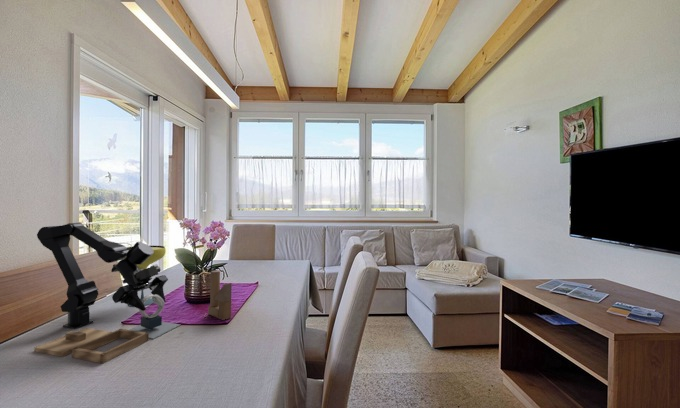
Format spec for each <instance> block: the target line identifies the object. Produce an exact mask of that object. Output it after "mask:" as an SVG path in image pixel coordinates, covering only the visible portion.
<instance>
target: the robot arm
mask: <svg viewBox="0 0 680 408" xmlns="http://www.w3.org/2000/svg"><path fill="white" fill-rule="evenodd" d="M71 236H72V237H74V238H76V239H77V240H79V241H80V242H82V243H84V244H85V245H87V246H88V247H90V248H92V249H93V250H94V251H95V252H96V254H97V256H98V257H99V258H100V259H101V260H102V261H103V262H105V263H108V264H109V263H115V262H117V263H115V264H112V268H111V270H110V271H111V273H115V272H118V273H119V274H120V276H121V277H122V278H123V280H122V283H123V285H121V286H119V287H118V289H116V291H115V292H114V293H113V294H112V296H111V298H112V300H113V303H115V304H117V303H118V304H119V303H120V304H126V305H131V306H133V308H136V309H138V310H139V309H140V310H142V311H144V310H145V311H146V309H147V308H146V306H144V304H143V303H142V301H141V300H140V298H141V297H139V295H138V294H139V293H138V292H141V290H143V291H144V290H147V289H149V290H150V291H151V292H150V294H152V295H155V294H157V295H159V296H160V297H161V298H162V299H163V300H164V302H165V303H166V298H165V293H164V285H165V284H166V283H167V281H169V278H168V277H167V275H165V274H163V275H160V276H158V275H159V273H160V272H161V267H160V266H159V265H158V264H157V263H156V264H153V265H149V266H150V267H147V268H146V269H139V267H138V266H137V264H143V263H144V262H145V261H146V260H147V259H148V258H149V257H150V256H151V255H152V254H153V253H154V251H153V249H152V247H150V246H151V245H148V244H146V243H143V241H142V240H141V241H136V243H134V245H133V246H131V247H132V248H131V249H128V248H127V247H126V246H125V245H123V244H120V243H118V242H115V241H110V240H108V239H106V238H104V237H102V236H101V235H99V234H97V233H96V232H95V231H93V230H91V229H89V228H88V227H86V226H85V225H84V224H83V223H82V222H71V223H69V222H68V223H66V224H63V225H51V226H49V225H48V226H42V227H41V228H40V229H39V230H38V232H37V234H36V238H37V239H38V241H39V243H40V244H41V245H42V246H43V247H44V248H46V249H48V250H49V251H51V253H52V254H53V257H54V259H55V261H56V263H57V265H58V268H59V269H60V271H61V273H62V275H63V277H64V280H65V281H66V284H67V289H66V290H67V291H66V296H67V297H66V298H67V300H65V301H64V302H63V303H62V304H61V305H60V308H61V313H62V312H63V313H67V323H66V324H65V323H64V324H63V325H62V327H64V328H69V329H78V328H80V327H83V326H87V325H89V324H91V323H94V320H91V319H90V318H91V316H90V306H93V305H95V302H96V300H97V298H98V296H99V288H98V287H97V286H96V281H94V280H90V281H89V280H88V279H86V278H85V276H84V274H83V272H82V270H81V267H80V266H79V264H78V262H77V259H76V258H75V256H74V254H73V252H72V249H71V248H70V242H71ZM154 276H155V278H153V277H154ZM152 279H153V280H152ZM125 284H126V285H125ZM131 306H130V307H131Z"/></svg>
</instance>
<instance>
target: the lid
mask: <svg viewBox="0 0 680 408" xmlns="http://www.w3.org/2000/svg"><path fill="white" fill-rule="evenodd" d="M112 332H113V331H109V330H103V329H97V328H90V327H85V328H82V329H80V330H77V331H76V330H71V331H68V332H66V333H65V335H63V336H61V337H58V338H56V339H53V340H51V341H47V342H45V343H42V344H39V345H37V346H35V347H33V348H34V352H37V353H41V354H47V355H53V356H56V357H62V358H63V357H66V356H68V355H70V354H72V349H73V348H76V347H78V346H80V345H83V344H85V343H88V342H90V341H92V340H95V339H97V338H100V337H102V336H104V335H107V334H109V333H112Z"/></svg>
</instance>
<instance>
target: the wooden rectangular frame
mask: <svg viewBox="0 0 680 408" xmlns="http://www.w3.org/2000/svg"><path fill="white" fill-rule="evenodd" d="M111 332H112V333H109V334H107V335H104V336H102V337H100V338H97V339H95V340H92V341H90V342H88V343H85V344H83V345H80V346H78V347H76V348H73V349H72V353H71V358H72V359H73V358H74V359H78V360H84V361H88V362H94V363H100V364H104V363H106V362H108V361H111V360H112V359H114V358H116V357H118V356H121V355H122V354H124V353H126V352H129V351H130V350H132V349H134V348H136V347H138V346H140V345H142V344H144V343H147V342H148V341H149V339H148V336H149V333H146V332H139V331H133V330H130V329H125V328H119V329H116V330H115V331H111ZM117 339H128V340H127V341H125V342H123V343H121V344H119V345H116V346H114V347H112V348H111V349H109V350H107V351H104V352H103V351H97V350H95V349H97V348H99V347H102V346H104V345H106V344H109V343H111V342H114V341H115V340H117Z"/></svg>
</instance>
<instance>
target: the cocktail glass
mask: <svg viewBox="0 0 680 408" xmlns="http://www.w3.org/2000/svg"><path fill="white" fill-rule="evenodd" d="M149 246H150V247H152V249H153V251H154V253H153V254H152V255H151V256H150V257H149V258H148V259H147V260H146V261H145V262H144V263H143V264H137V266H138V267H139V269H146V268H149V266H151V264H153V263H156V262H157V261H159V260H161V259H162V258H164V257H165V255H166V252H167V251H166V247H165V246H163V245H149ZM132 247H133V246H128V247H126V248H128V249H131V248H132ZM140 292H141V293H140V297H139V298H140V300H142V299H143V298H144V297H145V296H144V295H145V294H144V293H145V292H144V290H141V291H140ZM153 304H155V303H154V301H153V299H152V297H151V298H149V299H148V300H147V301H146V302H145V303H144V306H145V307H146V306H149V305H153ZM127 305H128V304H127ZM128 306H129V307H133V306H131V305H128ZM133 308H134V307H133Z"/></svg>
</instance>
